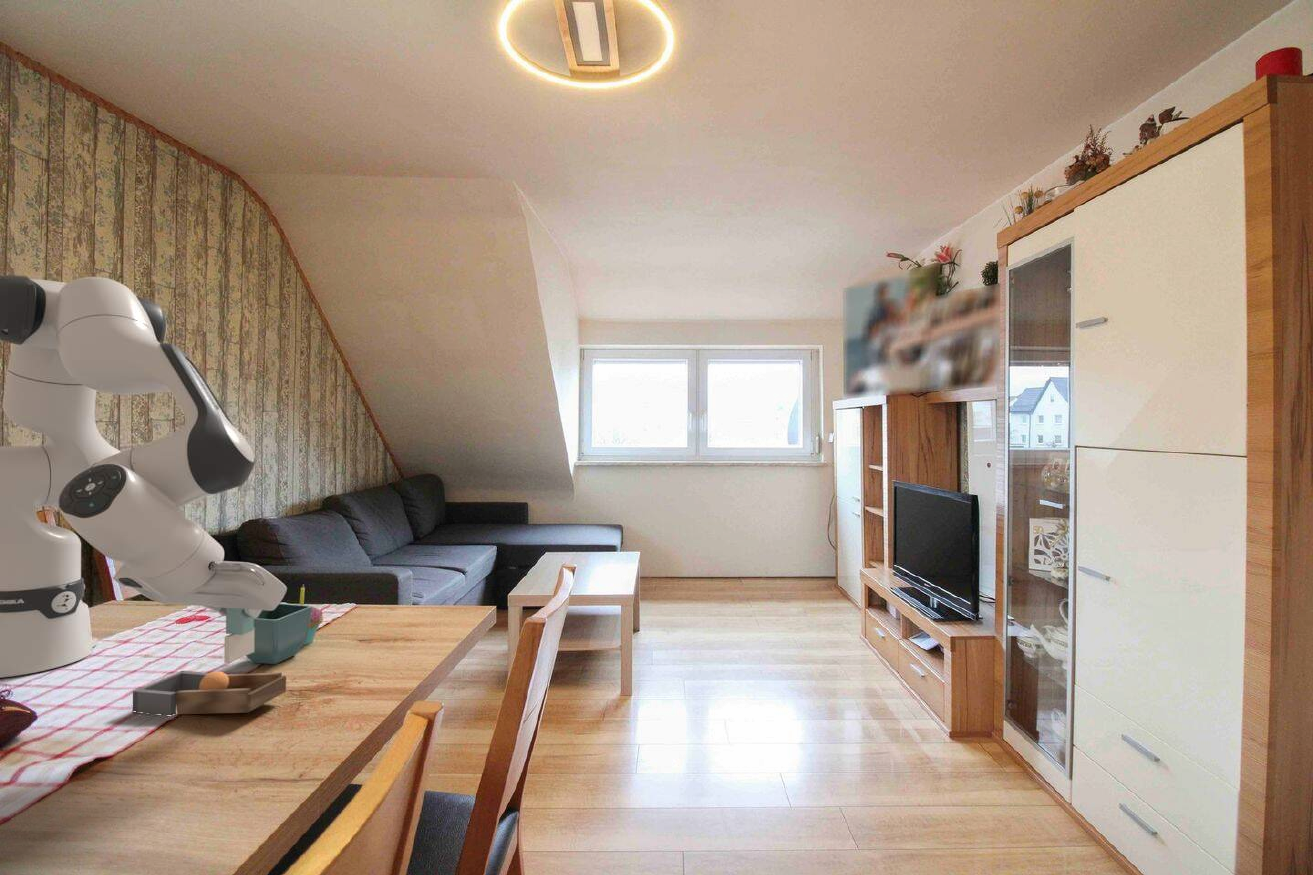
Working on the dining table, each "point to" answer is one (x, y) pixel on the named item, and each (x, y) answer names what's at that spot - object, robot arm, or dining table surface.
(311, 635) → the cupcake
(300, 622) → the flower pot
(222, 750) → the dining table surface
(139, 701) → the grey low frame
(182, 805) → the dining table surface
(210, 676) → the ball
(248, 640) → the rectangular block
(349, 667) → the dining table surface
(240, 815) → the dining table surface
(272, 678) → the hexagonal shallow dish
